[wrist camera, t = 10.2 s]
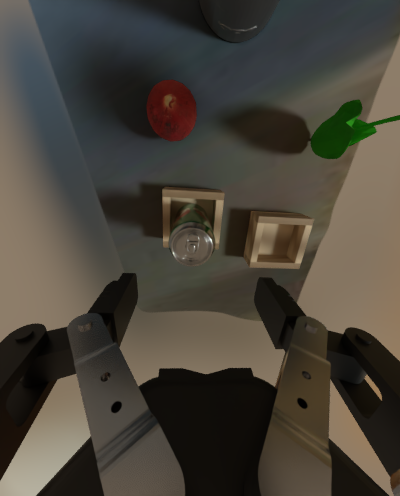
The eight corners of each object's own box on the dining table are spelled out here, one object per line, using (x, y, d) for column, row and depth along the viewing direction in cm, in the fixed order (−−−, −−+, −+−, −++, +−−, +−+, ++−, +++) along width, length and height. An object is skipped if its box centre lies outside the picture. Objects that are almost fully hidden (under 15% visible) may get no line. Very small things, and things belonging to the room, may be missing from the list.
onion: (188, 150, 27) (188, 143, 20) (149, 136, 26) (133, 123, 19) (200, 103, 25) (205, 76, 18) (158, 86, 24) (143, 50, 17)
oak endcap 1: (165, 186, 29) (162, 189, 25) (220, 190, 29) (224, 192, 26) (166, 238, 32) (163, 247, 29) (215, 240, 33) (218, 249, 29)
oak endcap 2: (251, 210, 31) (259, 216, 27) (300, 213, 32) (314, 219, 28) (243, 257, 34) (249, 267, 31) (288, 258, 35) (299, 268, 31)
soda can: (175, 232, 31) (166, 268, 20) (176, 201, 29) (167, 222, 18) (205, 234, 31) (213, 270, 20) (208, 204, 29) (219, 226, 18)
